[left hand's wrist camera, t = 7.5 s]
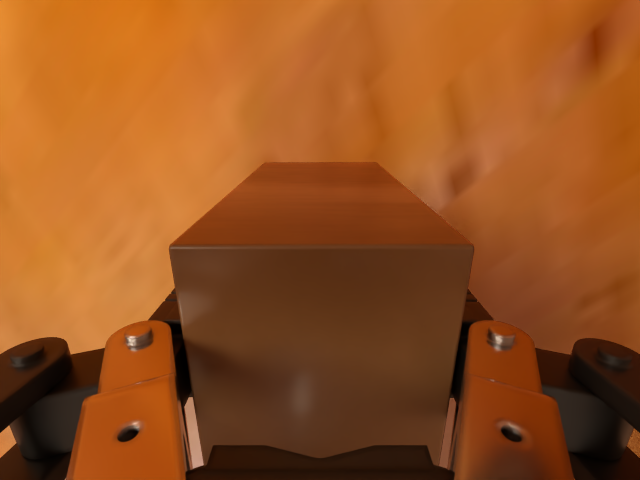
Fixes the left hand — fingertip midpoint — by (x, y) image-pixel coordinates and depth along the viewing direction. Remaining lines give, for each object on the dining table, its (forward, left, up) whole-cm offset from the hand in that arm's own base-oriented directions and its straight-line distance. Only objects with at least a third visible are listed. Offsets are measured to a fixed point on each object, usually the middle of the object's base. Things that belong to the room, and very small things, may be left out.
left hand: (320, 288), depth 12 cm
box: (+10, 0, -8) cm, 12 cm away
